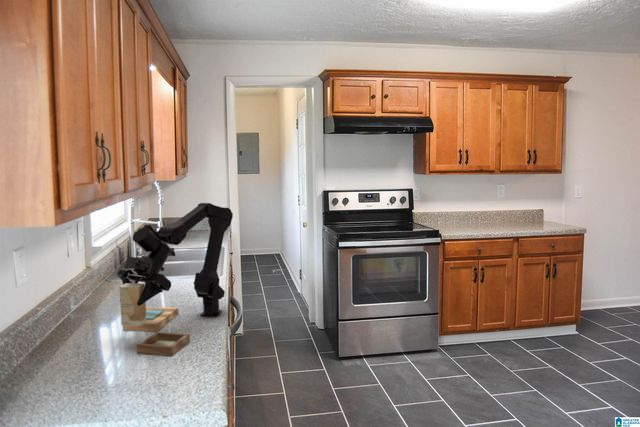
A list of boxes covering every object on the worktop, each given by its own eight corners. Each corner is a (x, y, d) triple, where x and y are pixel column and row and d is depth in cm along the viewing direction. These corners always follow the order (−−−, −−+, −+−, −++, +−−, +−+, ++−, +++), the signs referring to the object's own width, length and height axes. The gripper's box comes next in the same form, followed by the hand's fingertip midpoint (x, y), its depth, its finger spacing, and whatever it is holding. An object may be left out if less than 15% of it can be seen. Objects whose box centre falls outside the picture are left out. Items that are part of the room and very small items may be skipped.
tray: (157, 339, 160) (156, 332, 159) (189, 342, 157) (189, 334, 157) (137, 353, 149) (136, 344, 149) (171, 355, 146) (171, 347, 146)
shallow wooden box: (146, 313, 187) (146, 304, 186) (178, 314, 185) (178, 305, 185) (123, 330, 169) (122, 320, 169) (157, 331, 168) (157, 321, 167)
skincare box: (121, 326, 153) (118, 286, 152) (127, 321, 158) (124, 282, 156) (141, 326, 153) (138, 286, 151) (147, 321, 157) (145, 282, 156)
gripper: (119, 243, 160) (91, 286, 152) (161, 248, 151) (134, 293, 143) (140, 263, 168) (115, 304, 160) (182, 268, 159) (157, 312, 151)
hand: (129, 303), depth 153 cm, fingers closed on skincare box, 7 cm apart
